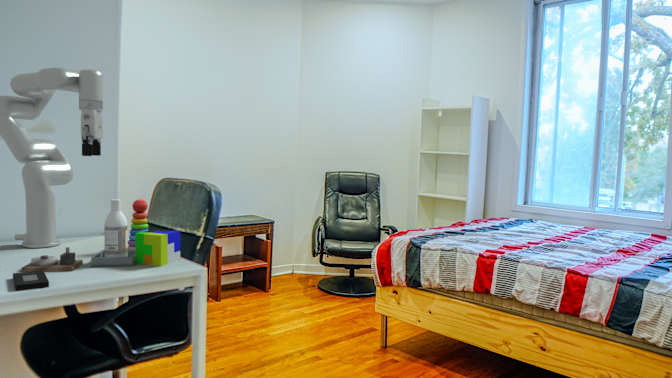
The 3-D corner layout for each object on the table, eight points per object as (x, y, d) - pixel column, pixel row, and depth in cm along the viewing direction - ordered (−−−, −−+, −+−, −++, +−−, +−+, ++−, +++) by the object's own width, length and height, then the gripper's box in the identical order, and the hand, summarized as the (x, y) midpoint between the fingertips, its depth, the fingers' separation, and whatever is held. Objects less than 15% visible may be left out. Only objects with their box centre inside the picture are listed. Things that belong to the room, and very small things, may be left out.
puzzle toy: (180, 260, 171) (180, 231, 170) (160, 266, 161) (160, 235, 161) (155, 257, 174) (155, 228, 173) (135, 263, 165) (135, 233, 164)
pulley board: (21, 271, 150) (21, 251, 150) (35, 264, 160) (35, 244, 159) (72, 271, 152) (71, 250, 152) (82, 263, 162) (82, 244, 162)
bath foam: (127, 261, 163) (126, 200, 162) (103, 262, 161) (102, 200, 160) (128, 257, 170) (128, 198, 168) (105, 258, 168) (105, 198, 166)
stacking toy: (142, 253, 180) (142, 201, 179) (122, 251, 182) (122, 200, 180) (154, 249, 188) (154, 199, 186) (135, 247, 189) (135, 198, 188)
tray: (91, 266, 158) (91, 257, 158) (102, 258, 170) (102, 250, 170) (132, 266, 161) (132, 257, 160) (140, 257, 173) (140, 249, 172)
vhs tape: (43, 277, 147) (43, 270, 147) (49, 288, 135) (48, 281, 135) (12, 280, 142) (12, 273, 142) (16, 292, 131) (15, 285, 131)
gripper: (95, 104, 167) (95, 156, 169) (109, 108, 184) (109, 155, 186) (70, 103, 166) (71, 155, 167) (87, 107, 183) (87, 155, 184)
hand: (91, 155), depth 176 cm, fingers open, 9 cm apart
